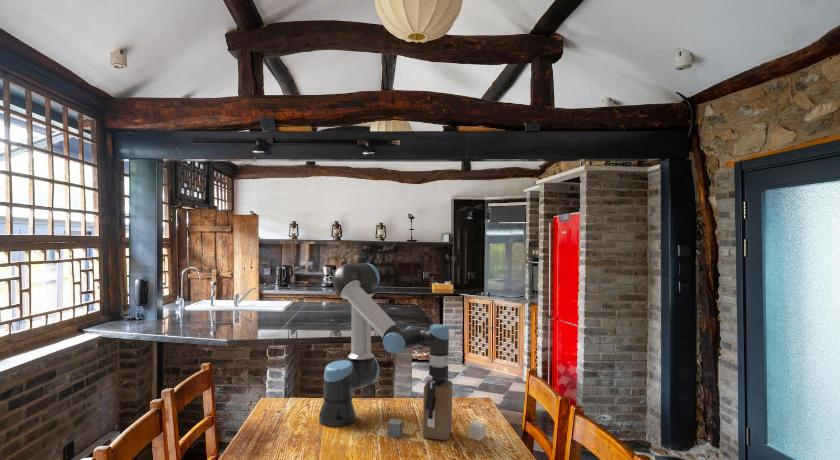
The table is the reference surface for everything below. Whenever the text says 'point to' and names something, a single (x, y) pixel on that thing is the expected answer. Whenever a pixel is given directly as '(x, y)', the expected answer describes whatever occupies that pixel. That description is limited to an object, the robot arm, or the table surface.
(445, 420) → the block
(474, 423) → the white cube
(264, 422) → the table surface
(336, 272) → the robot arm
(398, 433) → the slate cube
